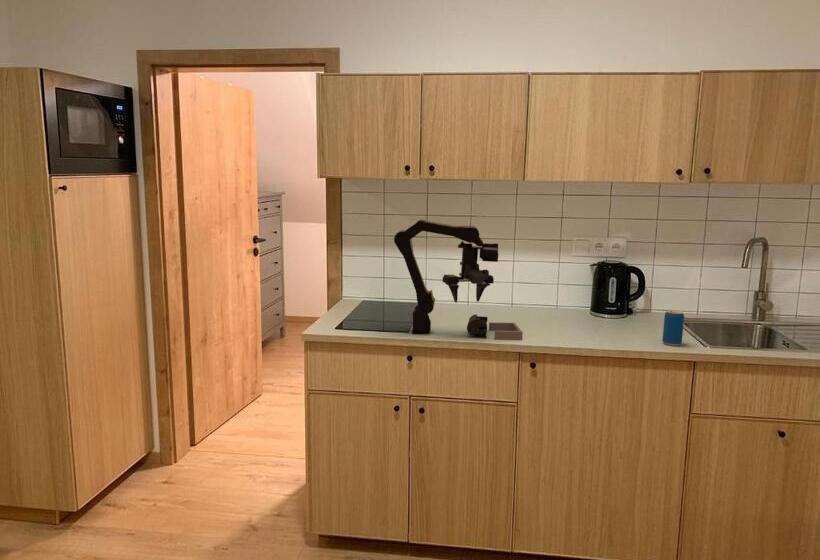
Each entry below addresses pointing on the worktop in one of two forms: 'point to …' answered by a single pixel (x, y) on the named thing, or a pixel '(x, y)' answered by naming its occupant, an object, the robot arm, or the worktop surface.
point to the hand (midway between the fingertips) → (466, 301)
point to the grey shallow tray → (505, 331)
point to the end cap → (477, 326)
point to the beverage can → (673, 327)
